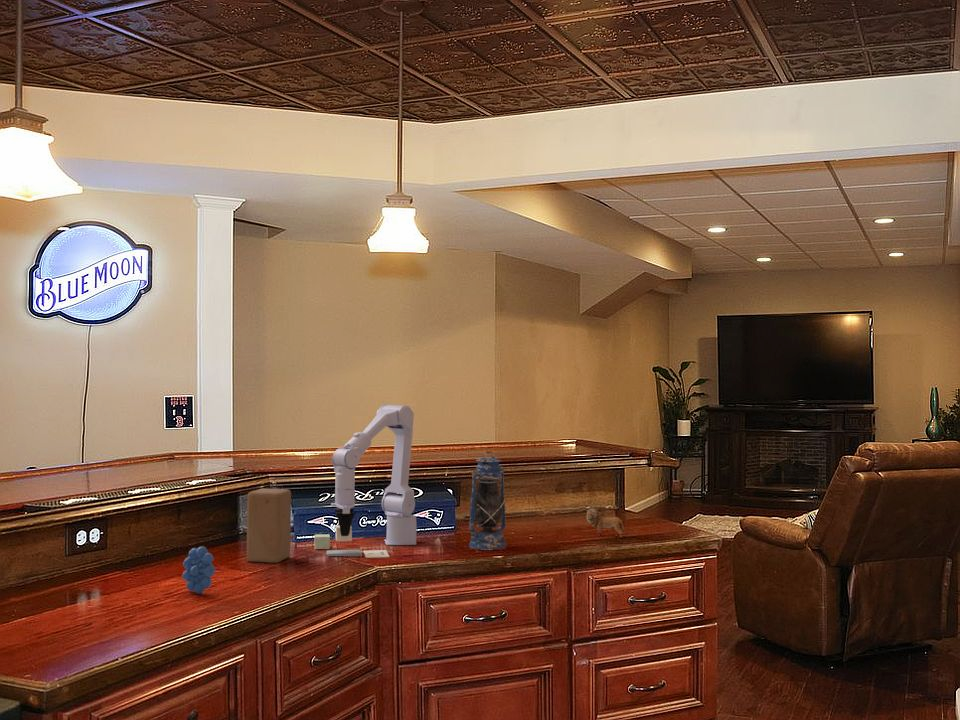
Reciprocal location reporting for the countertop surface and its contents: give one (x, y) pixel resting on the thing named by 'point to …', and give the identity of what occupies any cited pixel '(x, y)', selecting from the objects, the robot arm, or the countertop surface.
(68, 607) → the countertop surface
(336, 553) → the base brick
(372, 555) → the page
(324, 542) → the pale green cube
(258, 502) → the wooden block
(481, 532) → the lantern
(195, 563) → the grapes
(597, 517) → the lion figurine
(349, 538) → the brick
